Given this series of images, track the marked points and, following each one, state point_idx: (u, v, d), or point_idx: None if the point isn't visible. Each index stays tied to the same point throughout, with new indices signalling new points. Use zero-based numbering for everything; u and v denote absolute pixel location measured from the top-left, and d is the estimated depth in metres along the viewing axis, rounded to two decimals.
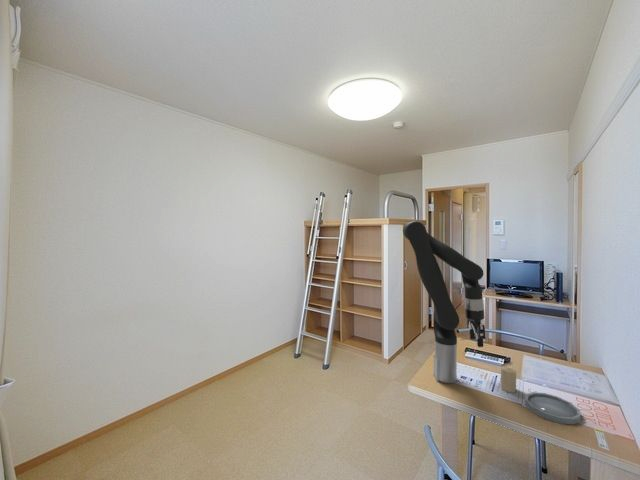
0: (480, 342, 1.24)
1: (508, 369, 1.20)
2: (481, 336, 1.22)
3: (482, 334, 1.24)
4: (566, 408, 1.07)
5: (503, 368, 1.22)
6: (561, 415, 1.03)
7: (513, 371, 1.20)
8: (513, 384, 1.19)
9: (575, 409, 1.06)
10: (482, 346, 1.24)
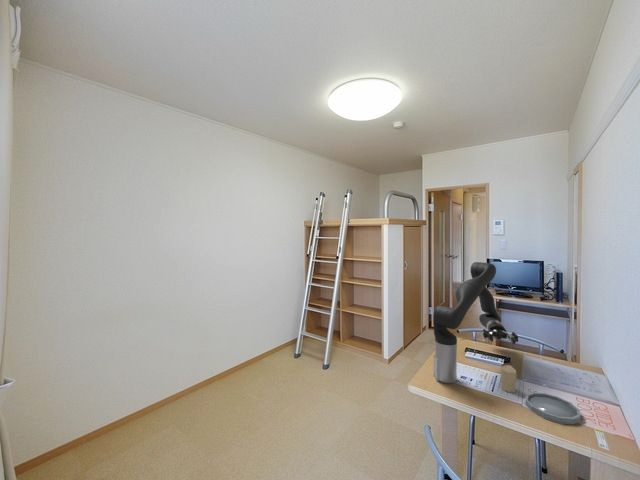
0: None
1: (508, 369, 1.20)
2: None
3: None
4: (566, 408, 1.07)
5: (503, 368, 1.22)
6: (561, 415, 1.03)
7: (513, 371, 1.20)
8: (513, 384, 1.19)
9: (575, 409, 1.06)
10: (514, 343, 1.30)
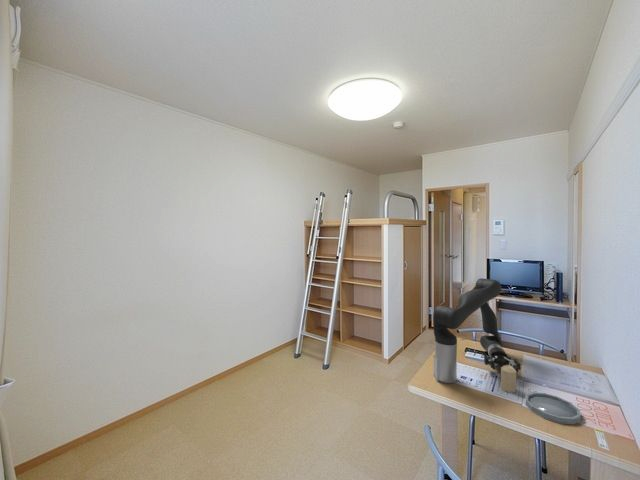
0: None
1: (508, 369, 1.20)
2: None
3: (513, 367, 1.31)
4: (566, 408, 1.07)
5: (503, 368, 1.22)
6: (561, 415, 1.03)
7: (513, 371, 1.20)
8: (513, 384, 1.19)
9: (575, 409, 1.06)
10: None
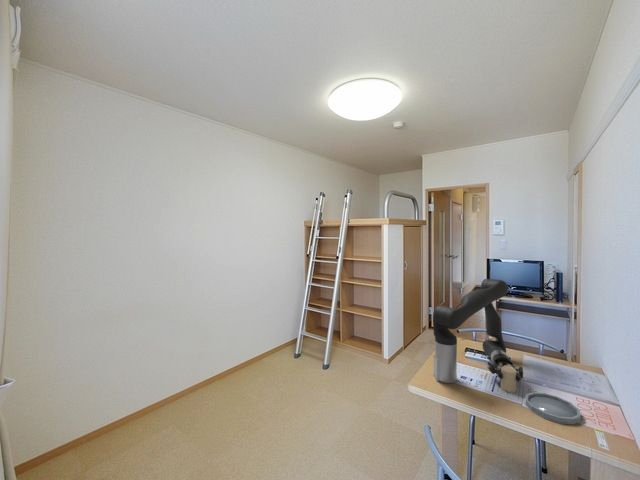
0: None
1: (508, 369, 1.20)
2: None
3: None
4: (566, 408, 1.07)
5: (503, 368, 1.22)
6: (561, 415, 1.03)
7: (513, 371, 1.20)
8: (513, 384, 1.19)
9: (575, 409, 1.06)
10: None
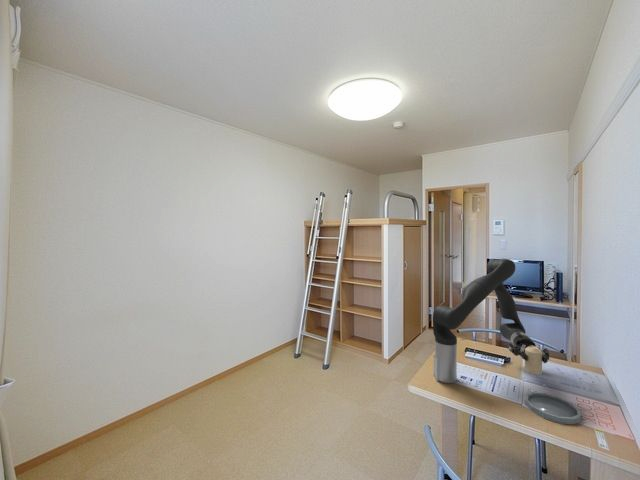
0: None
1: (534, 350, 1.12)
2: None
3: None
4: (566, 408, 1.07)
5: (528, 349, 1.13)
6: (561, 415, 1.03)
7: (539, 352, 1.11)
8: (540, 365, 1.11)
9: (575, 409, 1.06)
10: None
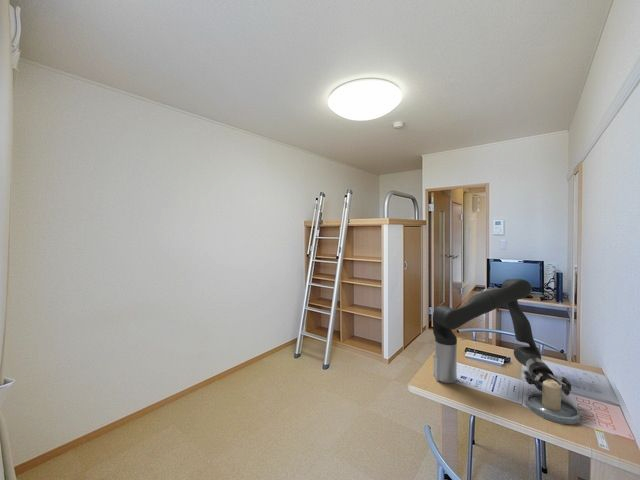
0: None
1: (552, 384, 1.06)
2: None
3: None
4: (566, 408, 1.07)
5: (546, 383, 1.08)
6: (561, 415, 1.03)
7: (558, 387, 1.06)
8: (558, 401, 1.05)
9: (575, 409, 1.06)
10: (568, 394, 1.04)
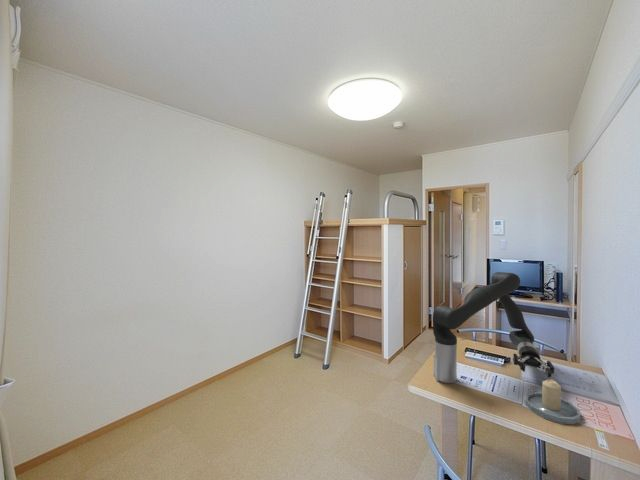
0: None
1: (552, 384, 1.06)
2: None
3: (546, 370, 1.22)
4: (566, 408, 1.07)
5: (545, 383, 1.08)
6: (561, 415, 1.03)
7: (558, 387, 1.06)
8: (558, 401, 1.05)
9: (575, 409, 1.06)
10: (549, 377, 1.17)
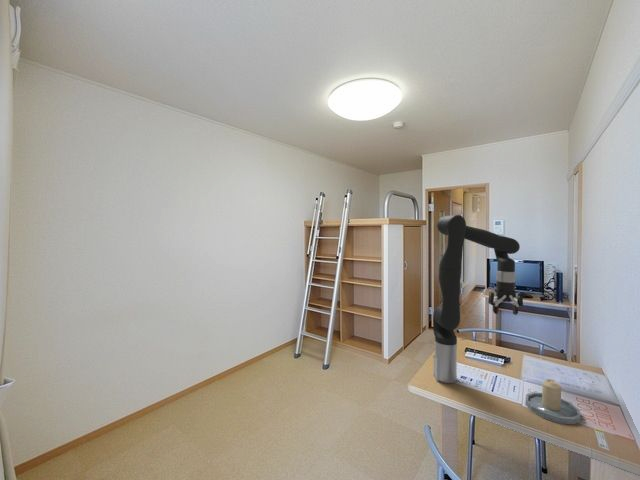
0: None
1: (552, 384, 1.06)
2: None
3: None
4: (566, 408, 1.07)
5: (546, 383, 1.08)
6: (561, 415, 1.03)
7: (558, 387, 1.06)
8: (558, 401, 1.05)
9: (575, 409, 1.06)
10: None
